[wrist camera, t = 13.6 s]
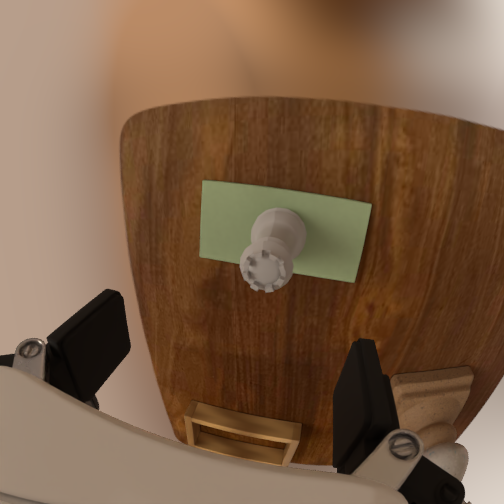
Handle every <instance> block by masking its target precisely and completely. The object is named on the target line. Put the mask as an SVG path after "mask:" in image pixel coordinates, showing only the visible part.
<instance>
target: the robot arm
mask: <svg viewBox="0 0 504 504" xmlns="http://www.w3.org/2000/svg"><path fill="white" fill-rule="evenodd" d="M47 341H48V343H47V344H46V345H45V343H44V341H42V340H41V339H38V338H30V339H26V340H24V341H22V342H21V343H20V344H19V345H18V346H17V348H16V351H15V354H9V355H1V356H0V504H471V503H470V502H468V503H466V502H465V501H464V497H465V489H464V486H463V484H462V483H461V482H460V481H459V480H458V479H457V478H455V477H454V476H452V475H451V474H449V473H448V472H446V471H445V470H443V469H442V468H441V467H439V466H438V465H436V464H435V463H433V462H432V461H430V460H429V459H428V458H426V457H425V456H423V455H422V454H423V452H424V444H423V441H422V439H421V438H420V436H419V435H418V434H416V433H415V432H413V431H411V430H409V429H400V424H399V419H398V415H397V410H396V405H395V400H394V396H393V392H392V387H391V383H390V379H389V377H388V375H383V374H382V370H381V366H380V362H379V358H378V354H377V350H376V346H375V342H374V340H370V339H361V338H360V339H358V341H357V342H353V343H352V345H351V348H350V351H349V354H348V356H347V359H346V362H345V364H344V367H343V370H342V372H341V375H340V377H339V380H338V382H337V385H336V387H335V390H334V394H333V467H334V468H337V473H332V472H323V471H316V470H315V471H314V470H305V469H298V468H290V467H283V466H277V465H271V464H265V463H259V462H254V461H249V460H244V459H239V458H235V457H230V456H226V455H222V454H218V453H214V452H210V451H206V450H203V449H199V448H196V447H192V446H189V445H186V444H182V443H179V442H176V441H173V440H170V439H167V438H164V437H161V436H159V435H156V434H153V433H150V432H148V431H145V430H143V429H140V428H137V427H134V426H133V425H130V424H128V423H125V422H123V421H120V420H118V419H116V418H114V417H111V416H109V415H107V414H105V413H103V412H101V411H99V410H97V409H95V408H93V407H91V406H89V405H87V404H85V402H86V401H87V402H88V401H90V400H91V398H92V397H93V396H94V395H95V393H96V392H97V391H98V390H99V388H100V387H101V386H102V385H103V384H104V382H105V381H106V380H107V379H108V377H109V376H110V375H111V374H112V373H113V371H114V370H115V369H116V367H117V366H118V365H119V364H120V363H121V362H122V360H123V359H124V358H125V357H126V355H127V354H128V353H129V351H130V348H131V344H130V339H129V332H128V326H127V320H126V313H125V306H124V299H123V297H122V296H121V294H120V292H118V291H115V290H111V289H106V290H104V291H103V292H102V293H100V294H99V295H98V296H97V297H95V298H94V299H93V300H92V301H90V302H89V303H88V304H86V305H85V306H84V307H83V308H81V309H80V310H79V311H78V312H77V313H75V314H74V315H73V316H72V317H71V318H69V319H68V320H67V321H66V322H64V323H63V324H62V325H61V326H60V327H58V328H57V329H56V330H55V331H54V332H52V333H51V334H50V335H49V336H48V337H47Z"/></svg>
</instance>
